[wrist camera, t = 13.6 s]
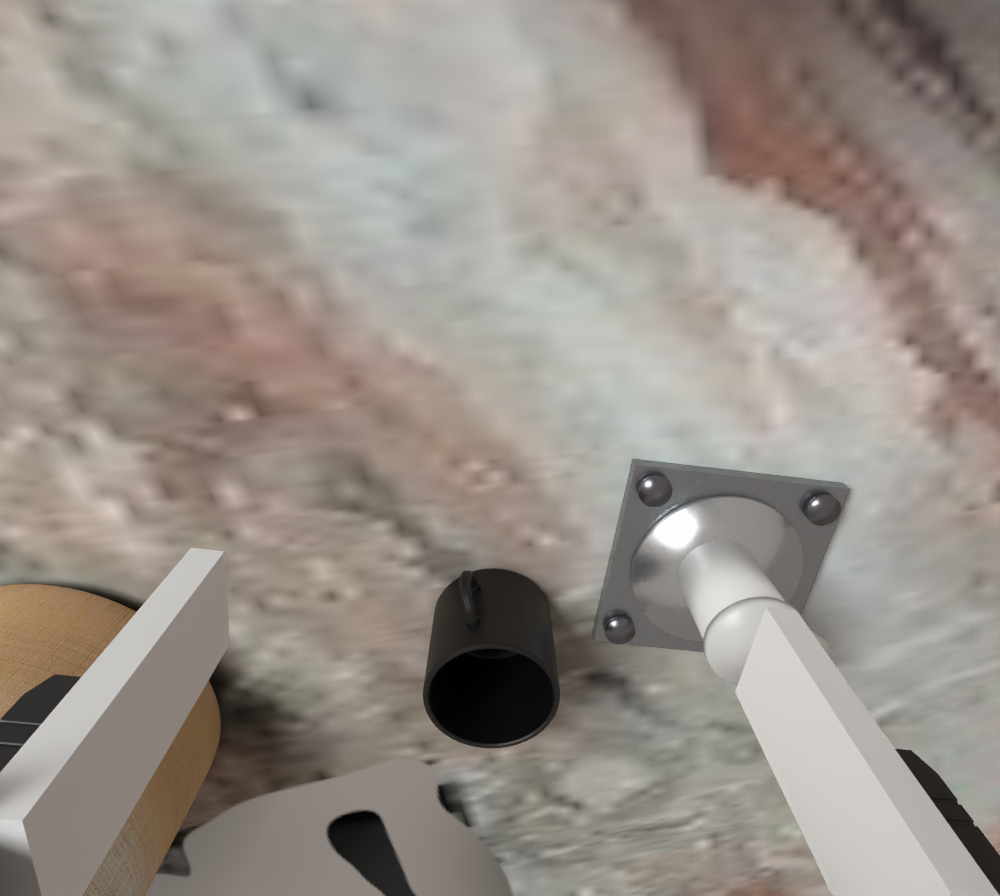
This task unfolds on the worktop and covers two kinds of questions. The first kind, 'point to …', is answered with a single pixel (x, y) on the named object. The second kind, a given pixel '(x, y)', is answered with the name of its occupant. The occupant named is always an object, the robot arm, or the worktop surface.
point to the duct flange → (700, 519)
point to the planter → (71, 651)
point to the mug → (491, 661)
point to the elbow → (728, 602)
